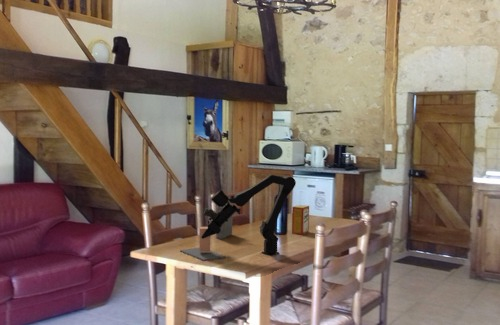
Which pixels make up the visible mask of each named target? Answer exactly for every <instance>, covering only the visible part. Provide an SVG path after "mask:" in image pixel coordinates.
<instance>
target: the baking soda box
mask: <svg viewBox="0 0 500 325" xmlns="http://www.w3.org/2000/svg"><path fill="white" fill-rule="evenodd" d="M291 210H292V211H291V212H292V214H291V215H292V219H291V234H292V235H293V234H294V235H299V234H300V235H301V236H303V235H305V234H308V233H309V228H310V205H302V204H298V205H297V204H296V205H294V206H292V209H291ZM307 232H308V233H307Z"/></svg>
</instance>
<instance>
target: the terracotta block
mask: <svg viewBox="0 0 500 325" xmlns="http://www.w3.org/2000/svg"><path fill="white" fill-rule="evenodd" d="M207 228H208V227H207V226H199V247H200V252H210V251H211V236H209V237H206V238H204V239H202V238H201V237H202V235H203V234H204V233H205V231H206V230H207Z"/></svg>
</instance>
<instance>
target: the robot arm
mask: <svg viewBox="0 0 500 325" xmlns="http://www.w3.org/2000/svg"><path fill="white" fill-rule="evenodd" d="M296 183H297V182H296V179H295V178H294V177H292V176H290V175H285V176H280V175H275V174H273V173H272V174H271V173H270V174H268V175H267V176H266V177H264V178H263V179H261V180H260V181H258V182H257V183H255V184H253V185H252V186H251V187H249V188H247V189H245V190H241V191H240V192H237V193H235V194H234V195H229V196H227V194H225V193H224V191H223V190H222V189H219V190H218V191H217V192H216V193H214V194H213V195H212V196H211V197H210V200H211V201H212V202H213V203H214V204H215V205H216V207H217V206H218V207H223V206H225V205H226V204H227V205H226V206H225V207H223V208H222V209H221V210H220V211H218V212H216V211H215V210H213V209H211V208H209V207H205V209H204V211H203V215H204V216H207V217H208V220H207V226H206V227H208V228H207V230H206V231H205V233H204V234H203V235H202V237H201V238H202V239H204V238H206V237H209V236H210V237H211V236H213V235H216V234H219V233H220V232H221V227H222V225H223V224H224V223H225V222H227V221H228V219H229V218H230V217H231V216H232V217H233V216H234V214H236V213H237V214H239V215H241V207H243V206H245V205H246V204H248V202H249V201H250V200H251V199H252V198H253V197H254V196H256V195H257V194H259V193H260V192H261V191H263V190H265V189H266V188H267V187H269V186H271V185H272V184H277V185H279V193H278V194H277V197H276V199H275V201H274V204H273V205H272V208H271V210H270V213H269V215H268V218H267V219H266V220H262V221H261V225H260V226H259V233H260V235H261V236H262V237H263V238H264V239H263V241H264V242H263V251H261V253H262V254H265V255H266V256H267V255H268V256H273V255H279V254H280V252H278V241H279V238H278V236H276V235H275V232H276V227H277V226H276V224H277V220H278V219H279V216H280V213H281V212H282V209H283V207H284V205H285V203H286V200H287V198H288V196H289V195H290V193H291V192H293V190H294V188H295V187H296ZM231 204H232V205H231Z"/></svg>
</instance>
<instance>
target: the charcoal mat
mask: <svg viewBox="0 0 500 325" xmlns="http://www.w3.org/2000/svg"><path fill="white" fill-rule="evenodd" d="M179 252H180V253H183V254H185V255H187V256H191V257H192V258H195V259H198V260H200V261H203V262H205V261H212V260H213V261H214V260H218V259H224V258H226V255H224V254H221V253H218V252H215V251H212V250H210V252H200V246H199V247H193V248H186V249H180V250H179Z"/></svg>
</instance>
